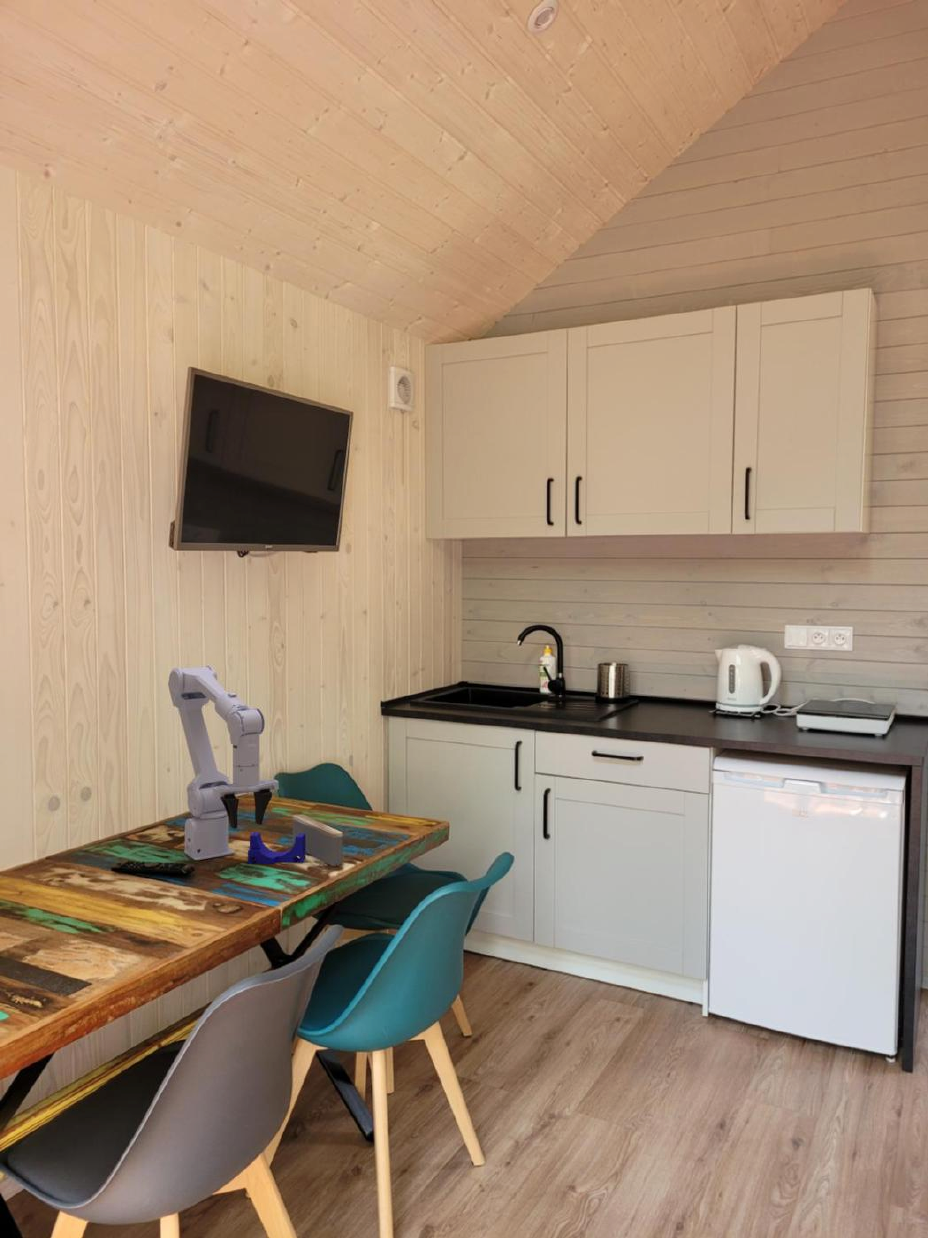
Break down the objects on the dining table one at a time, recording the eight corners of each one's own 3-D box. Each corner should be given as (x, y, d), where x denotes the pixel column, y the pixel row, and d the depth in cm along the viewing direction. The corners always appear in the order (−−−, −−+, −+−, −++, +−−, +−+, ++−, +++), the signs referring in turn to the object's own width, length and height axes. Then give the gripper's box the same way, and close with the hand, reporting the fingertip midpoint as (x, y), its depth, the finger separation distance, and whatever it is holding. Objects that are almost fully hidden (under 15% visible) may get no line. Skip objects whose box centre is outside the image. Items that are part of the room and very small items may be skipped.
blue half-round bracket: (248, 864, 210) (247, 837, 210) (253, 858, 214) (253, 832, 214) (300, 865, 209) (300, 839, 209) (305, 859, 214) (305, 833, 213)
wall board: (332, 866, 208) (332, 834, 208) (292, 845, 224) (292, 815, 224) (342, 864, 209) (342, 832, 209) (302, 844, 226) (302, 814, 225)
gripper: (221, 771, 198) (221, 834, 199) (284, 763, 207) (284, 824, 207) (209, 765, 204) (209, 827, 204) (270, 758, 212) (271, 818, 213)
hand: (246, 825), depth 206 cm, fingers open, 5 cm apart
